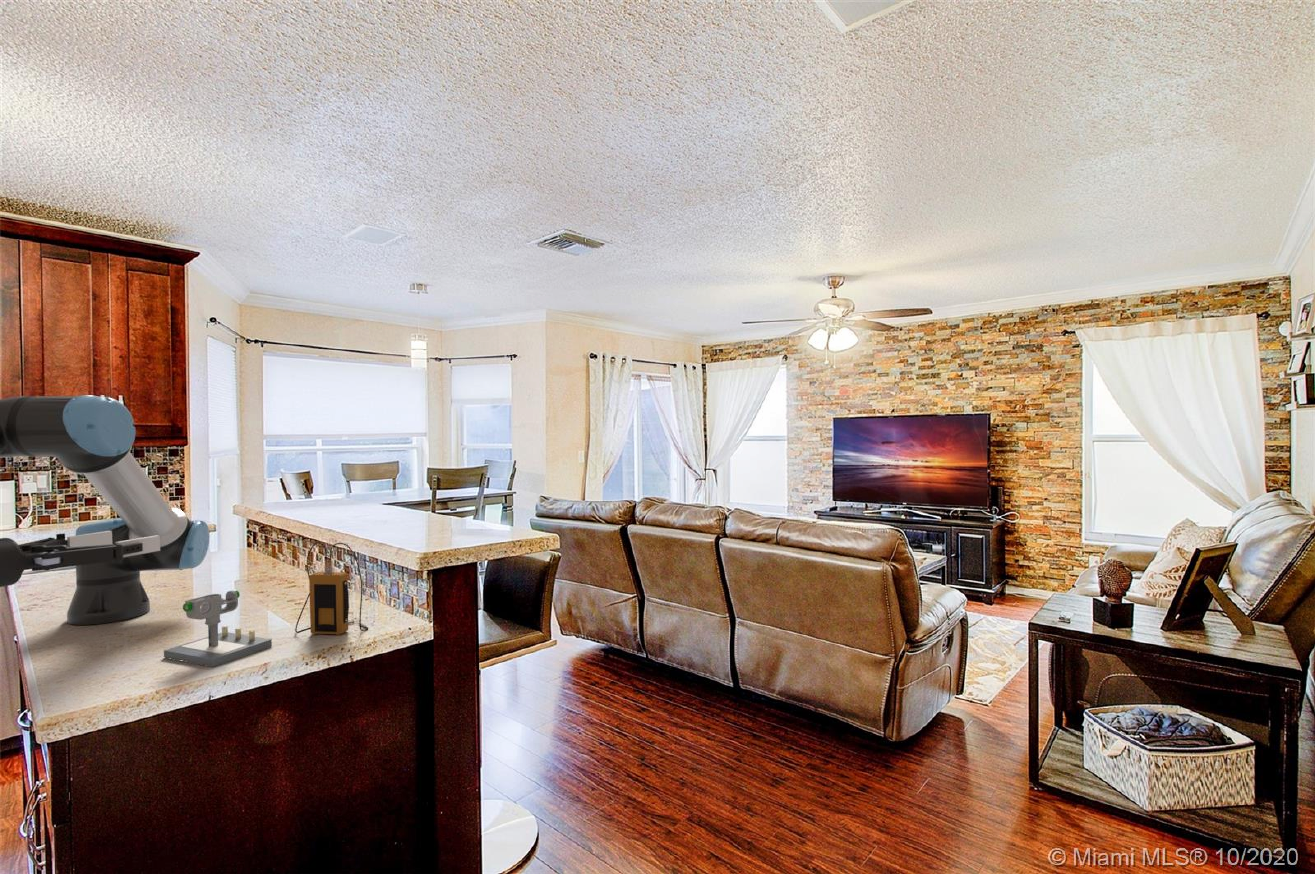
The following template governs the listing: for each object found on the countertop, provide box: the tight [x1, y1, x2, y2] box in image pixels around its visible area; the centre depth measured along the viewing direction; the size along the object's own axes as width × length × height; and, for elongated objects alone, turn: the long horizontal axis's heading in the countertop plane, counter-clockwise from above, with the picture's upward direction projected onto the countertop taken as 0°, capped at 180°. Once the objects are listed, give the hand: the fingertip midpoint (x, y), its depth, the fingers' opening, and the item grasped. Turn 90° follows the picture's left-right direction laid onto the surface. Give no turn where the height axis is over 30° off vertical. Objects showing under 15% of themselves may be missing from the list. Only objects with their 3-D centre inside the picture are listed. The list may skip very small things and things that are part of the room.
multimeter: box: [294, 541, 369, 636], centre depth 144 cm, size 15×10×20 cm
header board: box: [163, 625, 273, 668], centre depth 129 cm, size 14×12×4 cm
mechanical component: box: [182, 590, 240, 647], centre depth 128 cm, size 3×10×10 cm, turn 160°
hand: (134, 540), depth 118 cm, fingers open, 13 cm apart
